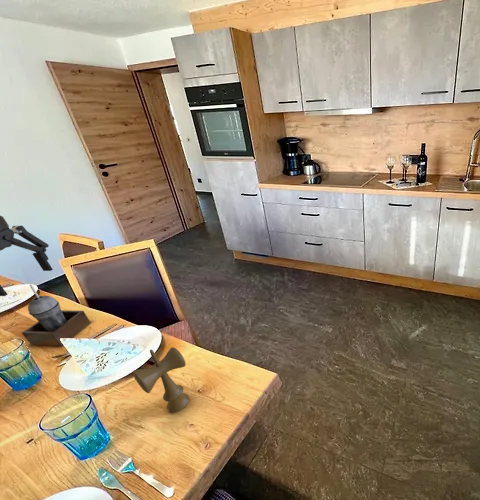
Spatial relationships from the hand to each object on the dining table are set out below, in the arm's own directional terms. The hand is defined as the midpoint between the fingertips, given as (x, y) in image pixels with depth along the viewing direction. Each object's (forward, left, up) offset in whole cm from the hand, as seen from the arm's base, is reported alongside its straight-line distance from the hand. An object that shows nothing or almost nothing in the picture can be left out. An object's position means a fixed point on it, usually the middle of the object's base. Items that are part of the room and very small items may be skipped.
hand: (26, 282), depth 90 cm
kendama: (+58, -23, -22) cm, 66 cm away
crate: (0, 0, -22) cm, 22 cm away
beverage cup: (0, 0, -22) cm, 22 cm away
